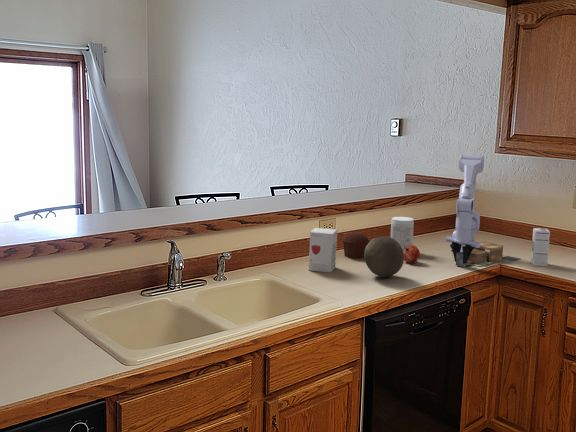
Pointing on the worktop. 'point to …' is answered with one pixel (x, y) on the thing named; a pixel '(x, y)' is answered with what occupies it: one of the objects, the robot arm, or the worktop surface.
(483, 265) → the pad
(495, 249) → the tunnel
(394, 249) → the cantaloupe
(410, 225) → the supplement tub
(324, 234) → the supplement box
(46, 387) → the worktop surface
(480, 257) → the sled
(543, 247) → the syrup box
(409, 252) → the pomegranate
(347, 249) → the muffin
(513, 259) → the pit right
